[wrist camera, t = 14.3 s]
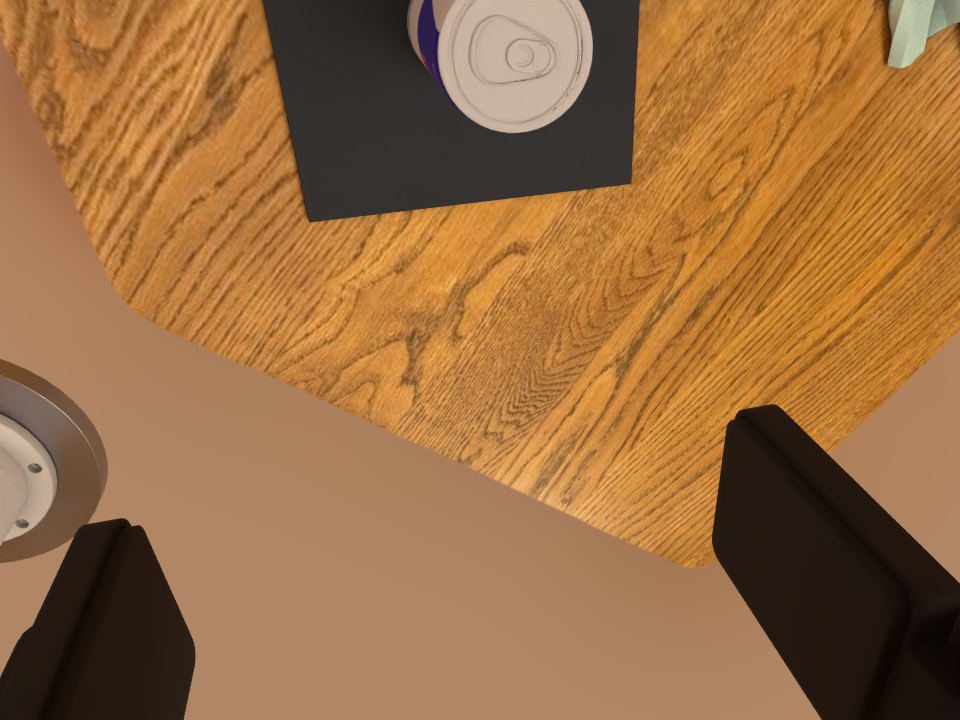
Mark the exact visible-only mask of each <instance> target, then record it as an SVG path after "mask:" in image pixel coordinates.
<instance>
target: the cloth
mask: <svg viewBox="0 0 960 720" xmlns="http://www.w3.org/2000/svg"><path fill="white" fill-rule="evenodd" d="M888 22H889V26H890V30H891V34H892V45H891V50H890V54H889V59H888V64H887V65H888V66H892V67H895V68H899V69H901V68H904V67H907V66H909V65H910V64H911V63H912V62H913V61H914V60H915V59H916V58H917V57H918V56H919V55H920V54H921V53H922V52H923V51H924V48H925V44H926V39H928V38H929V37H930V36H932V35H933V34H935V33H937V32H939V31H940V30H942V29H944V28H946V27H947V26H950V25H953V24H956V23H959V22H960V0H890V2H889V8H888Z"/></svg>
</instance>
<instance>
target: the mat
mask: <svg viewBox="0 0 960 720" xmlns="http://www.w3.org/2000/svg"><path fill="white" fill-rule="evenodd" d="M579 1H580V3H581V5H582V6H583V8H584V10H585V12H586V15H587V18H588V20H589V23H590V27H591V32H592V41H593V52H592V62H591V67H590V71H589V75H588V78H587V80H586V83H585V85H584V87H583V89H582V91H581V92H580V94H579V96H578V97H577V99H576V100H575V102H574V103H573V104H572V105H571V106H570V108H569V109H568V110H567V111H565V112H564V113H563V114H562V115H561V116H560V117H558V118H557V119H556V120H554V121H553V122H551V123H549V124H547V125H546V126H543V127H541V128H538V129H535V130H532V131H528V132H519V133H506V132H499V131H494V130H491V129H488V128H485V127H482V126H480V125H478V124H476V123H474V122H472V121H470V120H469V119H467V118H466V117H465V116H464V115H462V114H461V113H460V112H459V111H458V110H457V109H456V108H455V107H454V106H453V105H452V103H451V102H450V101H449V99H448V98H447V96H446V95H445V94H444V92H443V91H442V89H441V88H440V86H439V85H438V84H437V82H436V81H435V79H434V78H433V77H432V75H431V74H430V72H429V71H428V70H427V68H426V67H425V65H424V64H423V62H422V61H421V60H420V59H419V57H418V56H417V54H416V52H415V51H414V49H413V46H412V44H411V41H410V38H409V34H408V26H407V16H408V8H409V4H410V0H263V3H264V8H265V12H266V17H267V22H268V27H269V32H270V36H271V41H272V46H273V51H274V56H275V60H276V65H277V70H278V75H279V80H280V85H281V89H282V94H283V99H284V104H285V109H286V113H287V118H288V123H289V128H290V133H291V137H292V142H293V147H294V152H295V157H296V161H297V166H298V171H299V176H300V181H301V186H302V190H303V195H304V200H305V205H306V210H307V214H308V219H309V222H316V221H325V220H333V219H341V218H350V217H358V216H366V215H375V214H383V213H392V212H400V211H408V210H417V209H425V208H433V207H442V206H450V205H458V204H467V203H475V202H483V201H492V200H500V199H508V198H517V197H525V196H533V195H542V194H550V193H558V192H567V191H575V190H584V189H592V188H600V187H609V186H617V185H625V184H631V176H632V154H633V133H634V111H635V90H636V68H637V47H638V26H639V4H640V0H579Z"/></svg>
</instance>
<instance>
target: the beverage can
mask: <svg viewBox="0 0 960 720" xmlns="http://www.w3.org/2000/svg"><path fill="white" fill-rule="evenodd" d="M407 26H408V34H409V38H410V41H411V44H412V46H413V49H414V51H415V52H416V54H417V56H418V57H419V59H420V60H421V61H422V62H423V64H424V65H425V67H426V68H427V70H428V71H429V72H430V74H431V75H432V77H433V78H434V79H435V81H436V82H437V84H438V85H439V86H440V88H441V89H442V91H443V92H444V94H445V95H446V96H447V98H448V99H449V101H450V102H451V103H452V105H453V106H454V107H455V108H456V109H457V110H458V111H459V112H460V113H461V114H462V115H464V116H465V117H466V118H467V119H469V120H470V121H472V122H474V123H476V124H478V125H480V126H482V127H485V128H488V129H491V130H494V131H499V132H506V133H519V132H528V131H532V130H535V129H538V128H541V127H543V126H546V125H547V124H549V123H551V122H553V121H554V120H556V119H557V118H558V117H560V116H561V115H562V114H563V113H564V112H565V111H567V110H568V109H569V108H570V106H571V105H572V104H573V103H574V102H575V100H576V99H577V97H578V96H579V94H580V92H581V91H582V89H583V87H584V85H585V83H586V80H587V78H588V75H589V71H590V67H591V62H592V52H593V41H592V32H591V27H590V23H589V20H588V18H587V15H586V12H585V10H584V8H583V6H582V5H581V3H580V1H579V0H410V4H409V8H408V16H407Z"/></svg>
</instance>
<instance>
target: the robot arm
mask: <svg viewBox="0 0 960 720" xmlns="http://www.w3.org/2000/svg"><path fill="white" fill-rule="evenodd" d="M57 482H58V481H57V475H56V469H55V466H54V464H53V462H52V459H51V457H50V455H49V454H48V452H47V451H46V450H45V448H44V447H43V445H42V444H41V443H40V442H39V441H38V440H37V439H36V438H35V437H34V436H33V435H32V434H31V433H30V432H29V431H28V430H26V429H25V428H23V427H22V426H20V425H19V424H18V423H16V422H15V421H13V420H11V419H9V418H8V417H6V416H4V415H2V414H0V545H1V544H2V542H3V541H7V540H10V539H13V538H15V537H18V536H20V535H23V534H24V533H26V532H27V531H29V530H30V529H32V528H34V527H35V526H36V525H37V524H38V523H39V522H40V521H41V520H42V519H43V518H44V517H45V515H46V513H47V512H48V510H49V508H50V507H51V505H52V503H53V500H54V498H55V495H56V492H57ZM712 544H713V549H714V552H715V555H716V557H717V559H718V561H719V562H720V564H721V565H722V567H723V568H724V570H725V571H726V573H727V574H728V576H729V577H730V579H731V580H732V582H733V584H734V585H735V587H736V588H737V590H738V591H739V593H740V594H741V596H742V598H743V599H744V601H745V602H746V604H747V605H748V607H749V608H750V609H751V611H752V613H753V614H754V616H755V618H756V619H757V621H758V622H759V624H760V625H761V627H762V628H763V630H764V631H765V633H766V635H767V636H768V638H769V639H770V640H771V642H772V644H773V645H774V647H775V648H776V650H777V651H778V653H779V655H780V656H781V658H782V659H783V660H784V662H785V664H786V665H787V667H788V668H789V670H790V671H791V673H792V674H793V676H794V678H795V679H796V681H797V682H798V684H799V685H800V687H801V688H802V690H803V691H804V693H805V694H806V696H807V698H808V699H809V701H810V702H811V704H812V705H813V707H814V708H815V710H816V711H817V713H818V715H819V716H820V718H821V719H822V720H960V583H959V582H958V581H957V580H956V579H955V578H954V577H953V576H952V575H951V574H950V573H949V572H948V571H946V570H945V569H944V568H943V567H942V566H941V565H940V564H939V563H938V562H937V561H936V560H935V559H934V558H933V557H932V556H931V555H930V554H929V553H928V552H927V551H926V550H925V549H924V548H923V547H922V546H921V545H920V544H919V543H918V542H917V541H916V540H915V539H914V538H913V537H912V536H911V535H910V534H909V533H908V532H907V531H906V530H905V529H904V528H903V527H901V525H899V523H897V522H896V521H895V520H894V519H893V518H892V517H891V516H890V515H889V514H888V513H887V512H886V511H885V510H884V509H883V508H882V507H881V506H880V505H879V504H878V503H877V502H876V501H875V500H874V499H873V498H872V497H871V496H870V495H869V494H868V493H867V492H866V491H865V490H864V489H863V488H862V487H861V486H860V485H859V484H858V483H857V482H856V481H855V480H854V479H853V478H851V476H849V474H848V473H847V472H845V471H844V470H843V469H842V468H841V467H840V466H839V465H838V464H837V463H836V462H835V461H834V460H833V459H832V458H831V457H830V456H829V455H828V454H827V453H826V452H825V451H824V450H823V449H822V448H821V447H820V446H819V445H818V444H817V443H816V442H815V441H814V440H813V439H812V438H811V437H810V436H809V435H808V434H807V433H806V432H805V431H804V430H803V429H802V428H801V427H800V426H799V425H798V424H797V423H795V422H794V421H793V420H792V419H791V418H790V417H789V416H788V415H787V414H786V413H785V412H784V411H783V410H782V409H781V408H780V407H778V406H777V405H773V404H771V405H765V406H760V407H754V408H748V409H742V410H740V411H738V413H737V414H736V417H735V420H731V421H729V423H728V425H727V429H726V436H725V444H724V451H723V459H722V466H721V474H720V481H719V488H718V496H717V503H716V511H715V518H714V526H713V533H712ZM194 667H195V646H194V642H193V639H192V637H191V634H190V632H189V630H188V627H187V625H186V623H185V621H184V618H183V616H182V614H181V612H180V609H179V607H178V605H177V603H176V600H175V598H174V596H173V594H172V591H171V589H170V587H169V585H168V582H167V580H166V578H165V576H164V573H163V571H162V569H161V567H160V564H159V562H158V560H157V558H156V555H155V553H154V551H153V549H152V547H151V545H150V542H149V540H148V538H147V535H146V533H145V531H144V529H143V528H142V527H141V526H139V525H137V526H131V524H130V523H129V522H128V521H127V520H126V519H123V518H120V519H115V520H109V521H103V522H97V523H92V524H86V525H83V526H81V527H80V528H79V529H78V531H77V532H76V534H75V536H74V539H73V541H72V543H71V545H70V547H69V549H68V551H67V553H66V556H65V558H64V560H63V562H62V564H61V566H60V569H59V570H58V573H57V575H56V577H55V579H54V581H53V583H52V585H51V588H50V590H49V592H48V594H47V596H46V598H45V600H44V603H43V605H42V607H41V609H40V611H39V613H38V615H37V618H36V620H35V622H34V624H33V626H32V627H30V628H29V629H28V630H26V631H25V632H24V633H23V634H22V636H21V638H20V639H19V640H18V642H17V644H16V646H15V648H14V650H13V652H12V654H11V656H10V658H9V660H8V662H7V664H6V667H5V668H4V671H3V673H2V675H1V677H0V720H184V715H185V710H186V705H187V701H188V695H189V691H190V686H191V681H192V676H193V672H194Z"/></svg>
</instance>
